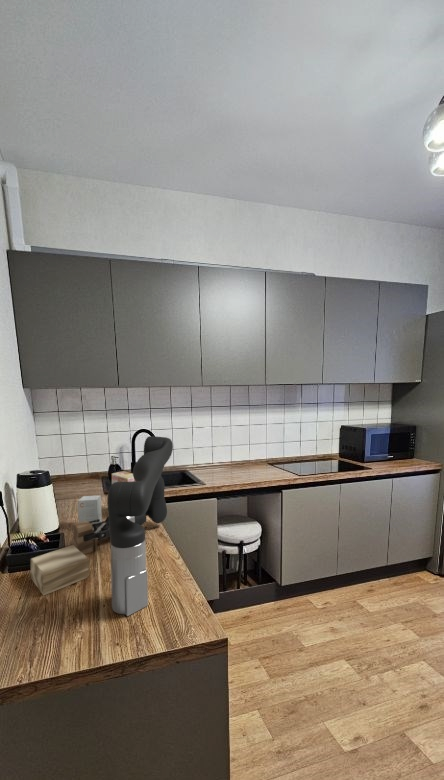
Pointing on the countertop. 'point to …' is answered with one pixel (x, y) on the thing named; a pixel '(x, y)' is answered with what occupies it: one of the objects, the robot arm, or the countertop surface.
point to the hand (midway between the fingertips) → (79, 535)
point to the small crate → (78, 534)
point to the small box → (89, 508)
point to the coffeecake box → (122, 477)
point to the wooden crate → (59, 569)
